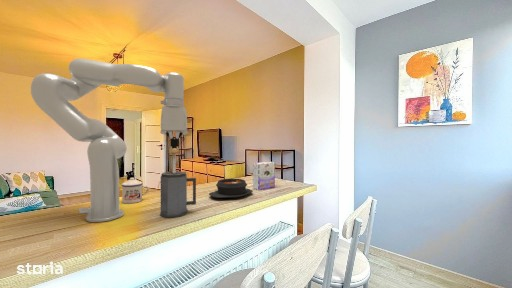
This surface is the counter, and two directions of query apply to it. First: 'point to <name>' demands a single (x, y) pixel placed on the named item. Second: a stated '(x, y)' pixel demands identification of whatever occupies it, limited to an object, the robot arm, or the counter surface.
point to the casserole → (231, 189)
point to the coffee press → (175, 194)
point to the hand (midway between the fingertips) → (174, 148)
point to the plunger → (174, 157)
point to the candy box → (263, 175)
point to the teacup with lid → (132, 191)
